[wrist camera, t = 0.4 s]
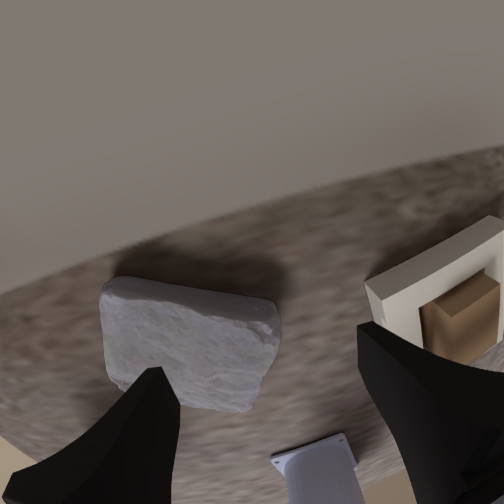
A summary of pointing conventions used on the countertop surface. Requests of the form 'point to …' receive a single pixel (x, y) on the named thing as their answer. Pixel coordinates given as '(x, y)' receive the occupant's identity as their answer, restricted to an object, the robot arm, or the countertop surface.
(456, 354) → the string block
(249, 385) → the stone block
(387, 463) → the countertop surface
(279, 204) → the countertop surface
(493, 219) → the frame
